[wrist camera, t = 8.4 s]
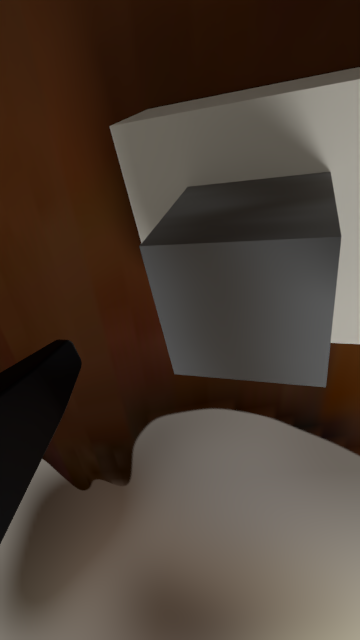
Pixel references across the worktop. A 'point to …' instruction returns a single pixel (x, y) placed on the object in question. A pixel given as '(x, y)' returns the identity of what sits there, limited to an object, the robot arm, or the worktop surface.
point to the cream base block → (255, 157)
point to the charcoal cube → (248, 278)
